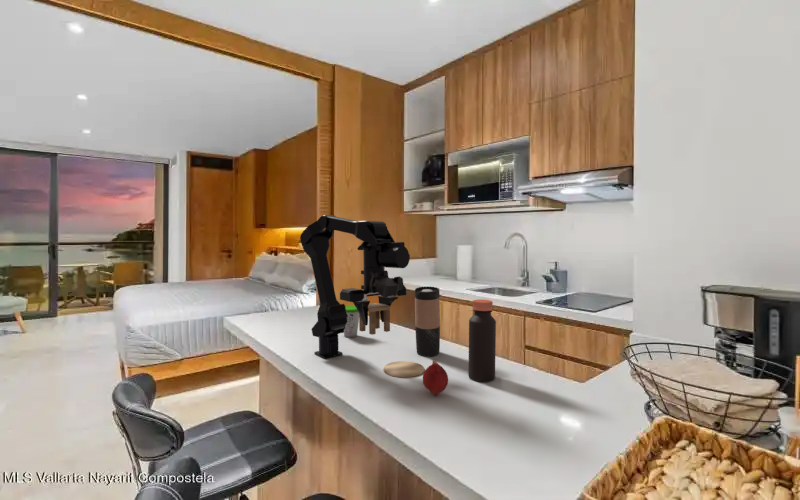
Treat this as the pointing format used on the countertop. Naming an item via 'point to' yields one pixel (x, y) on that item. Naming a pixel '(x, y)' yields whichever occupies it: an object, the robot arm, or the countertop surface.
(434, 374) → the onion
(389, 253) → the robot arm
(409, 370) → the trivet
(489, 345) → the bottle
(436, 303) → the travel mug
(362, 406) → the countertop surface
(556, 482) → the countertop surface
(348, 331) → the cup
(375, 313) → the tan block with prongs
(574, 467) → the countertop surface
